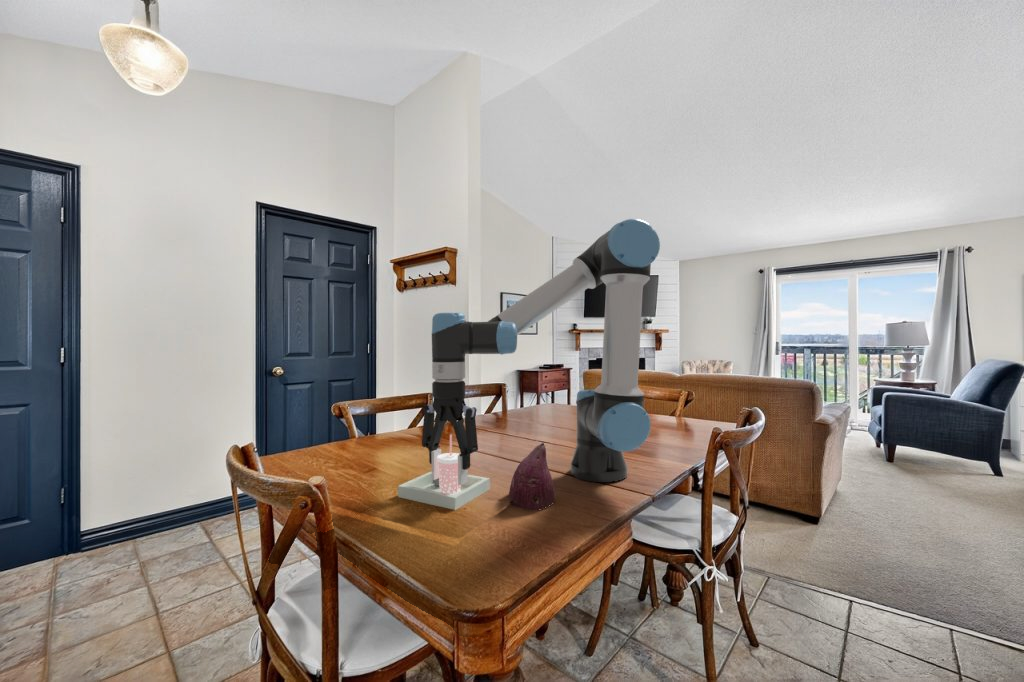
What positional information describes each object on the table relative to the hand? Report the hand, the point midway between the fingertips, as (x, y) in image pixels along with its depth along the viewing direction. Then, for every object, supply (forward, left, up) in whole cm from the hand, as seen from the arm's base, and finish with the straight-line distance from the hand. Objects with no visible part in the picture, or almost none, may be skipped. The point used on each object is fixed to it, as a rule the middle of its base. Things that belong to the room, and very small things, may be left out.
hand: (449, 480), depth 95 cm
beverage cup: (0, 0, -4) cm, 4 cm away
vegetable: (-17, -8, -5) cm, 19 cm away
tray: (+2, -1, -5) cm, 5 cm away
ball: (+6, -4, -4) cm, 8 cm away
